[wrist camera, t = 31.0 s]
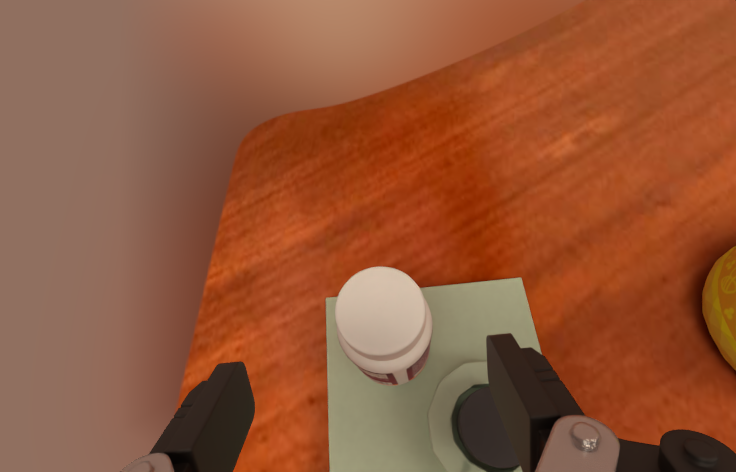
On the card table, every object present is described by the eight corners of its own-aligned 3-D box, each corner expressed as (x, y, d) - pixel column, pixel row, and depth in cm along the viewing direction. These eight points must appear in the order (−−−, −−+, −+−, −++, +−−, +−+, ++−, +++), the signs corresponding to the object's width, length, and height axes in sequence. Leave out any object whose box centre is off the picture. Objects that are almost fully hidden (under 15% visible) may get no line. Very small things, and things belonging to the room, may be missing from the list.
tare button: (463, 468, 20) (467, 471, 18) (451, 392, 22) (454, 389, 20) (535, 462, 20) (545, 465, 18) (517, 386, 21) (525, 383, 20)
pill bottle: (411, 298, 26) (409, 243, 18) (442, 369, 23) (454, 339, 16) (343, 324, 25) (313, 279, 18) (367, 399, 23) (345, 382, 16)
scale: (334, 504, 22) (323, 513, 19) (328, 302, 27) (319, 288, 25) (570, 487, 21) (592, 495, 18) (517, 283, 27) (528, 266, 24)
